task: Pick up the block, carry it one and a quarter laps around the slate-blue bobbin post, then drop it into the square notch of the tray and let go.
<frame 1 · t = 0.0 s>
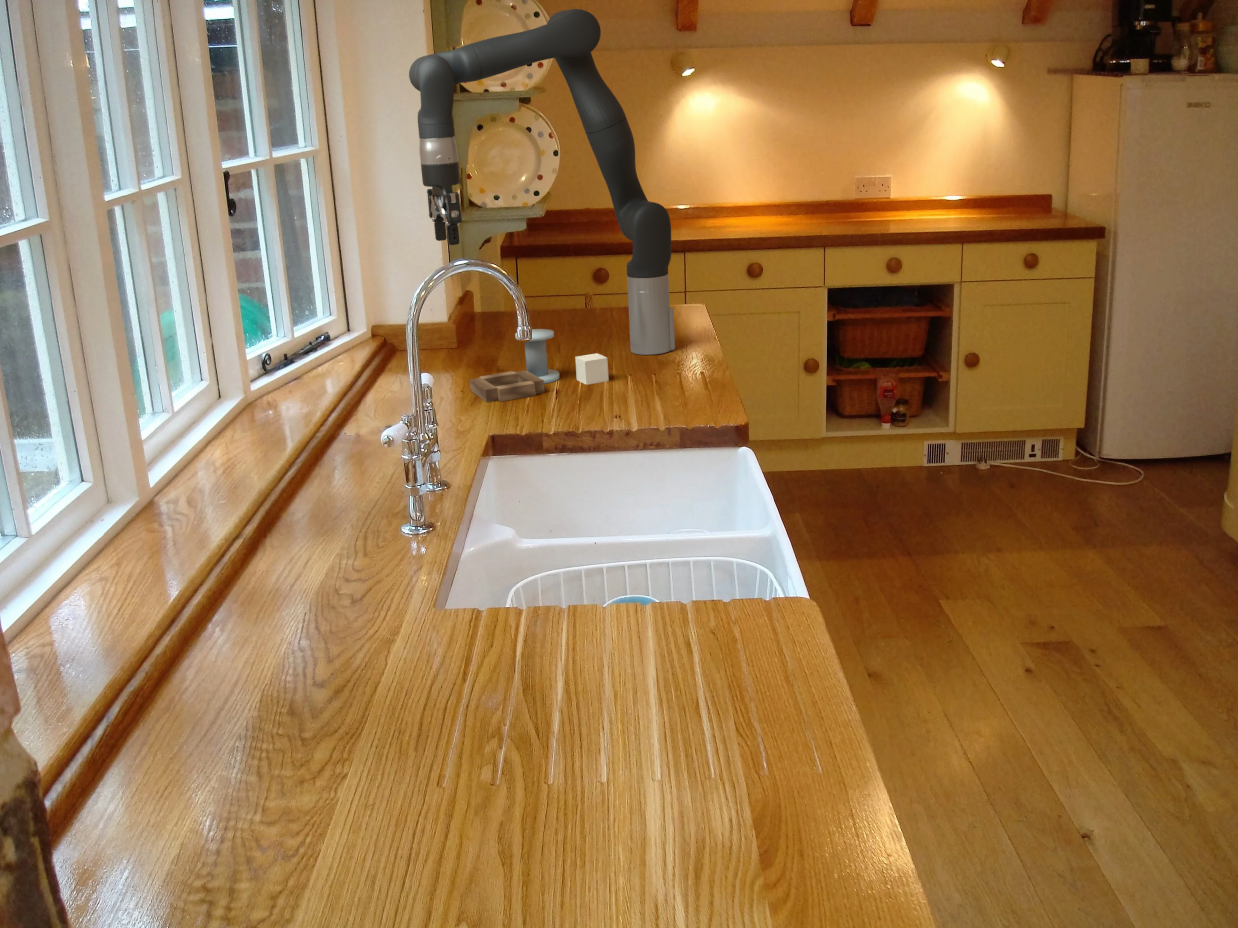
hand: (447, 242, 248), 29 cm above the worktop, fingers open, 8 cm apart
bobbin: (538, 379, 255), on the worktop
tray: (507, 391, 246), on the worktop
block: (592, 380, 251), on the worktop
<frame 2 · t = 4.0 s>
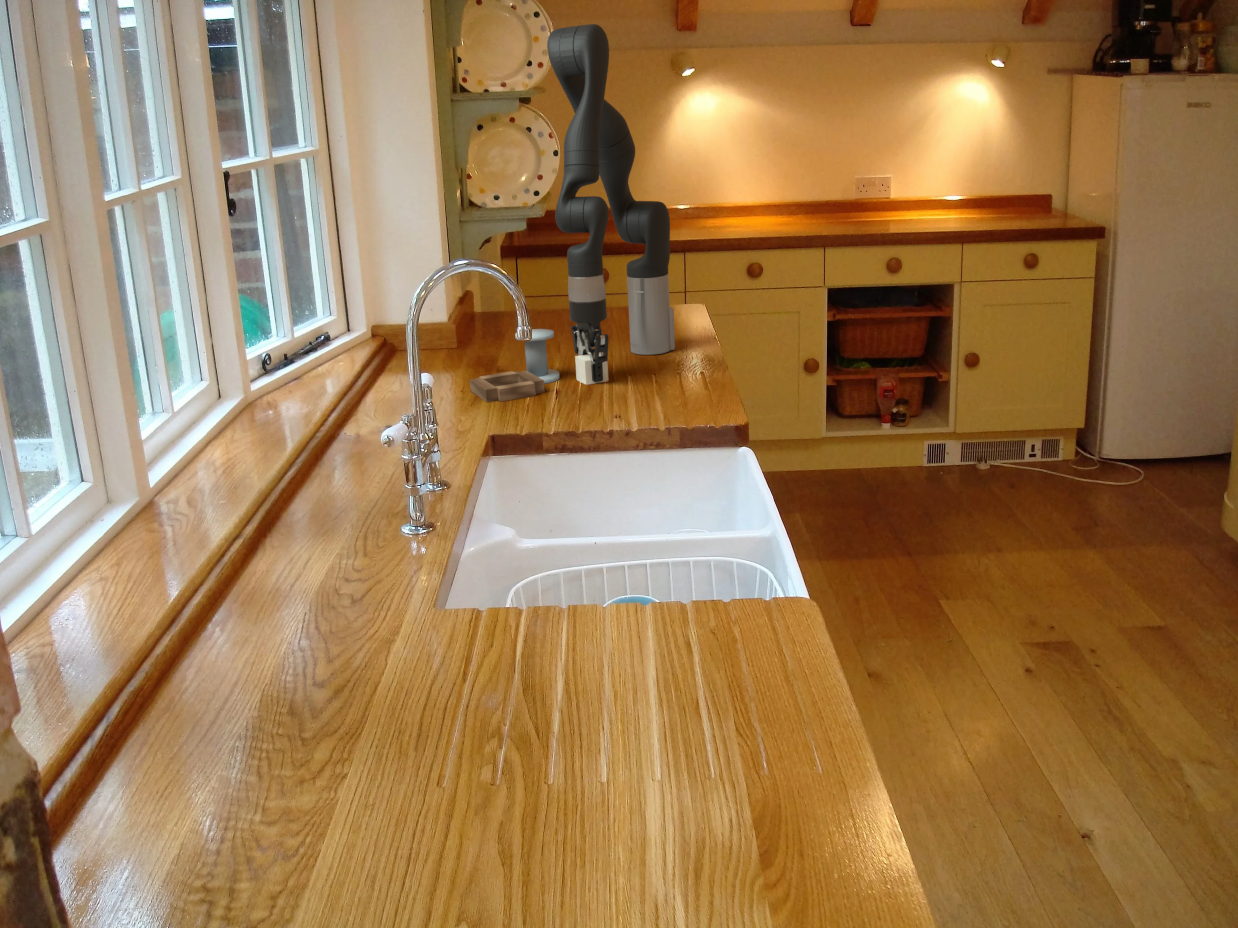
hand: (592, 378, 251), 0 cm above the worktop, fingers closed on block, 5 cm apart
block: (592, 380, 251), on the worktop, touching gripper
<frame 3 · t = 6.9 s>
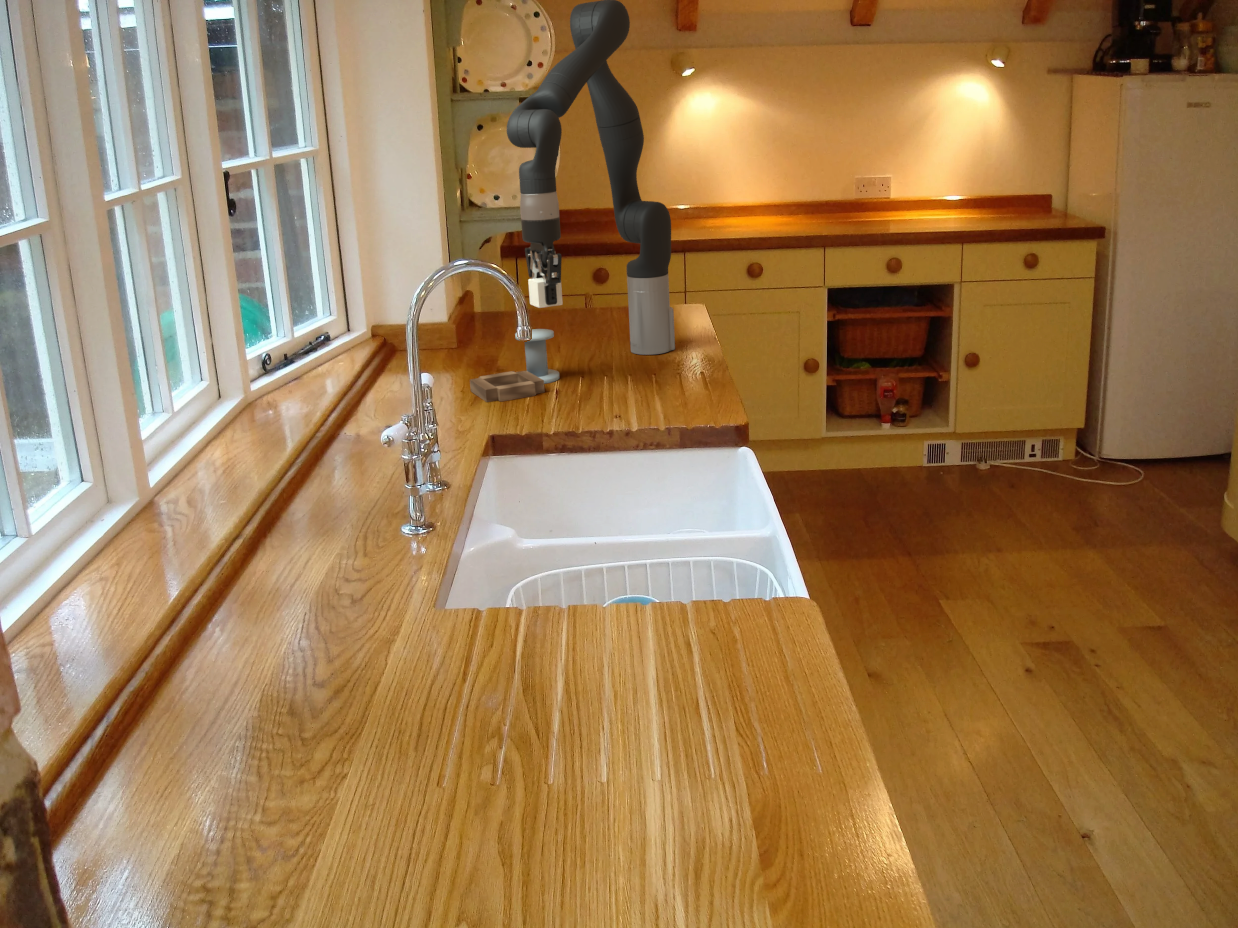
hand: (546, 302, 242), 18 cm above the worktop, fingers closed on block, 5 cm apart
block: (546, 304, 242), point 17 cm above the worktop, touching gripper
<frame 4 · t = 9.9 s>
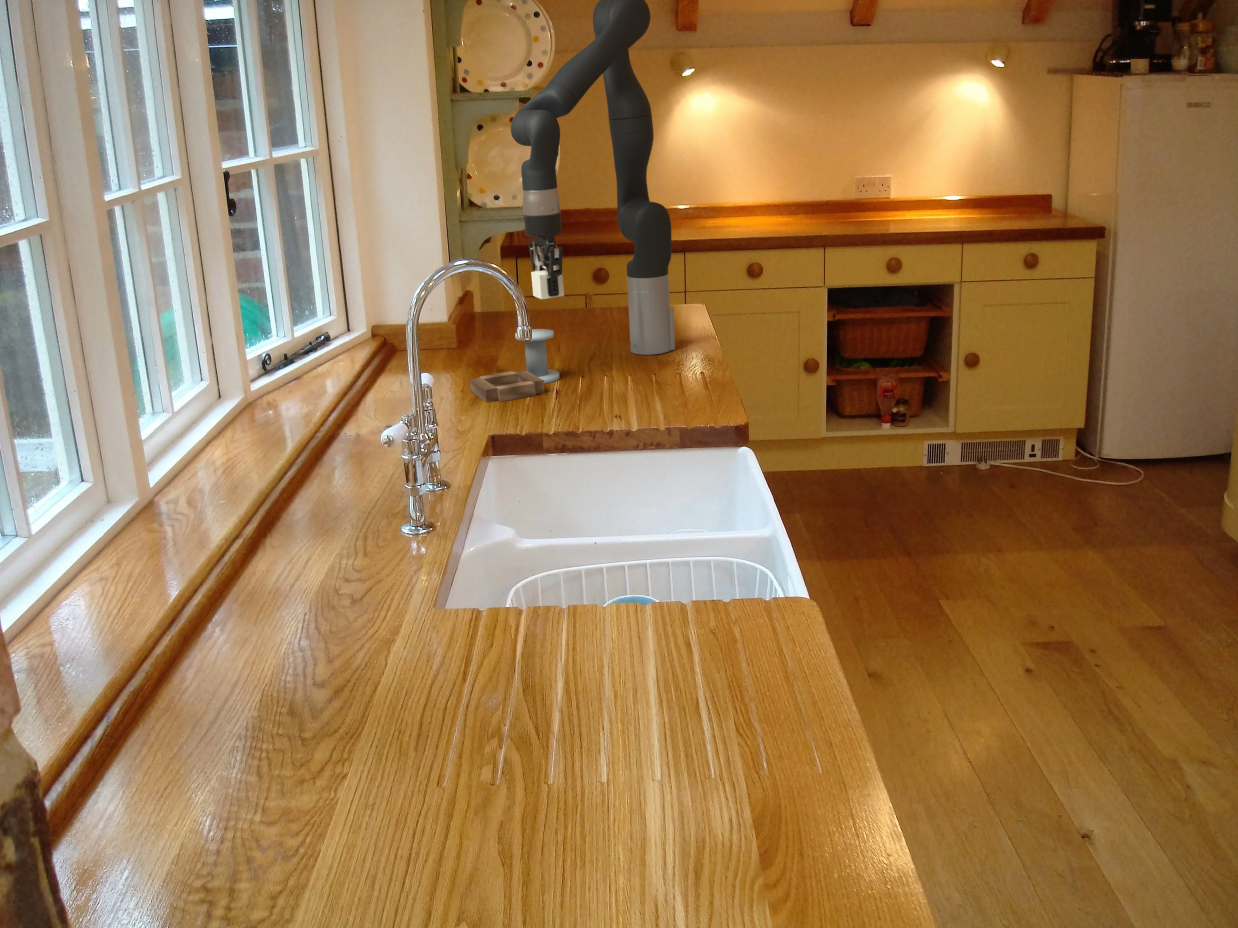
hand: (548, 293, 254), 17 cm above the worktop, fingers closed on block, 5 cm apart
block: (548, 296, 254), point 17 cm above the worktop, touching gripper
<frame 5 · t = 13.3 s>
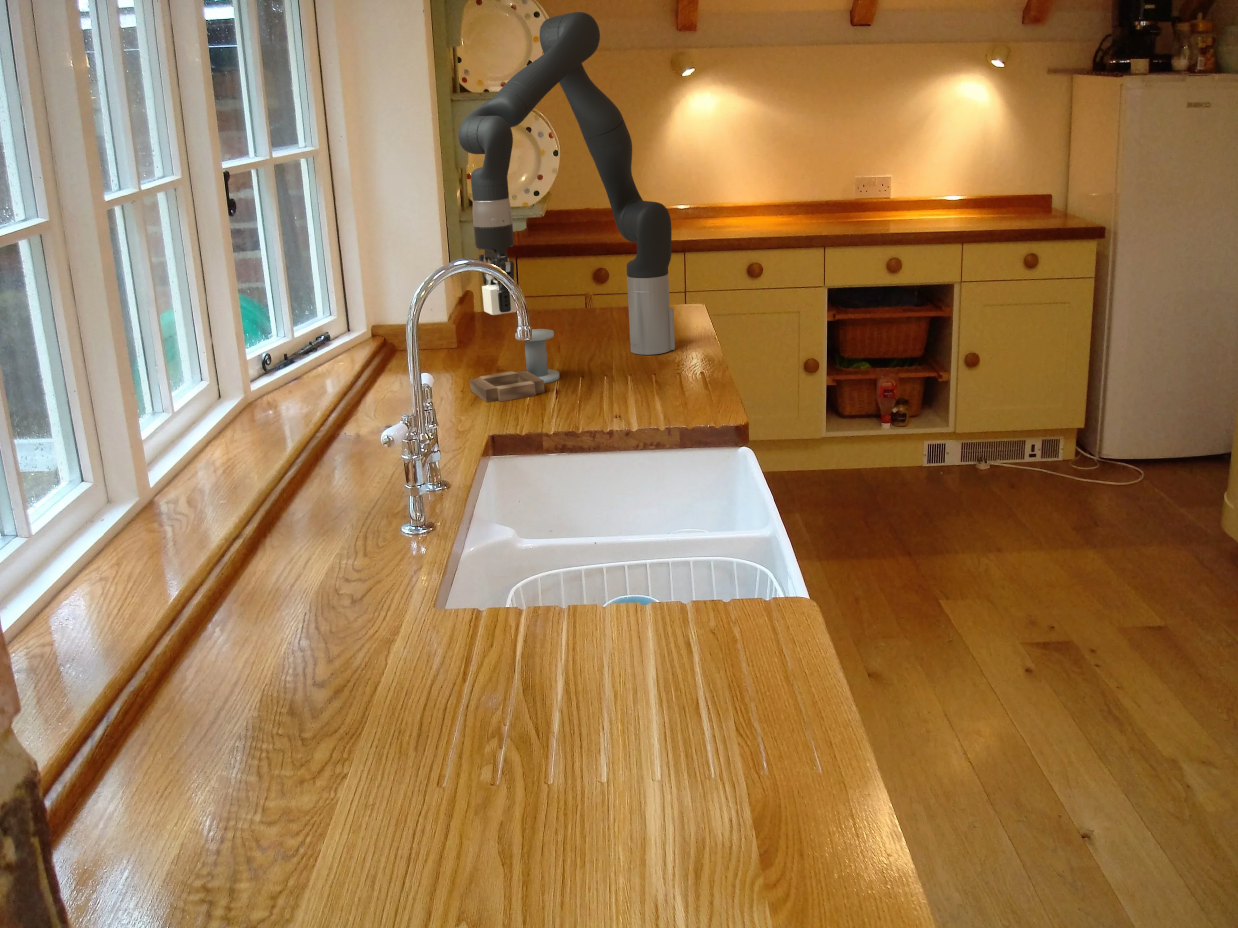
hand: (500, 309, 241), 17 cm above the worktop, fingers closed on block, 5 cm apart
block: (500, 311, 241), point 16 cm above the worktop, touching gripper
when the fingers open (3 cm above the worktop, at t = 16.2 s): block drops 3 cm, resting in tray.
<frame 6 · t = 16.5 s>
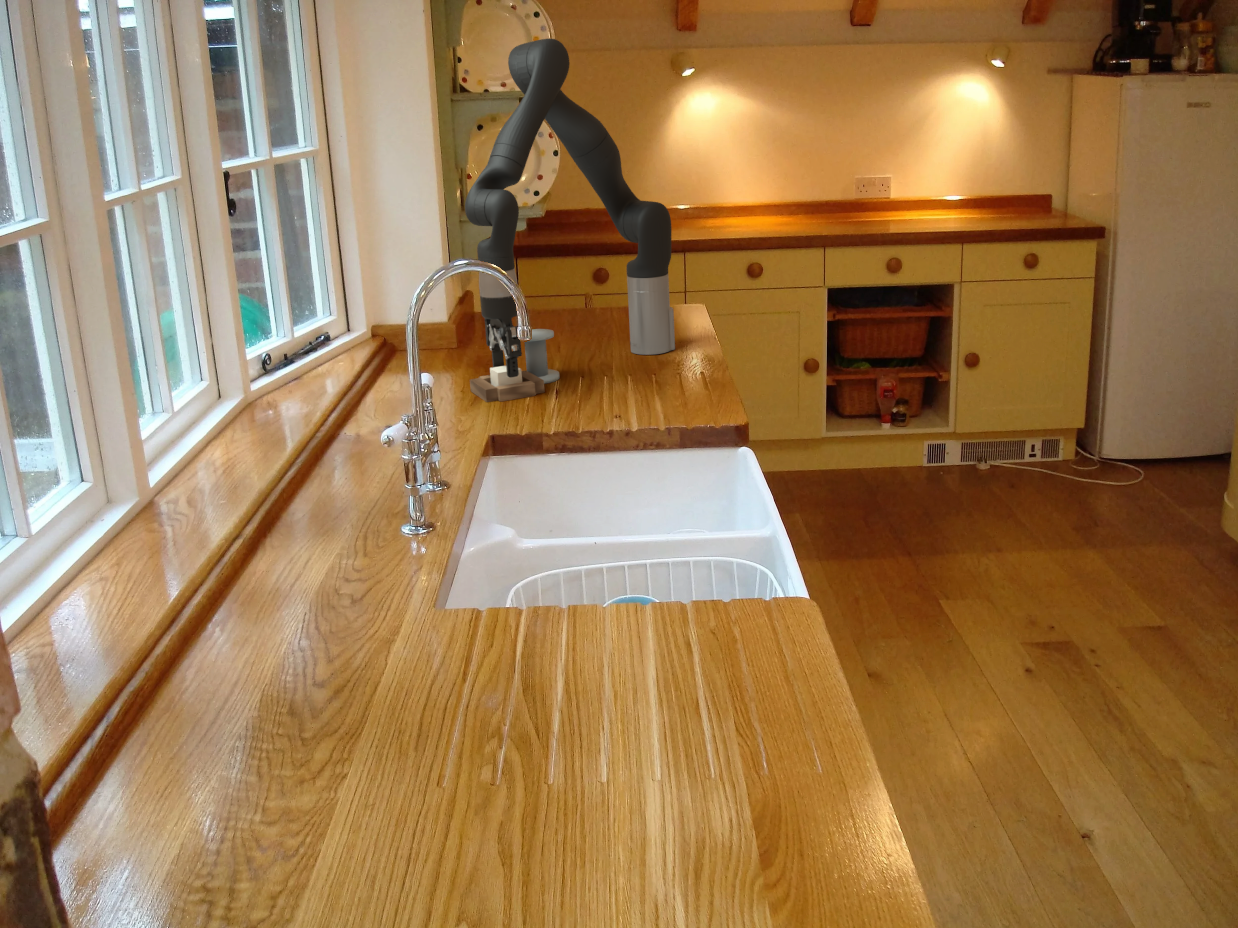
hand: (505, 372, 245), 4 cm above the worktop, fingers open, 8 cm apart
block: (507, 392, 246), resting in tray
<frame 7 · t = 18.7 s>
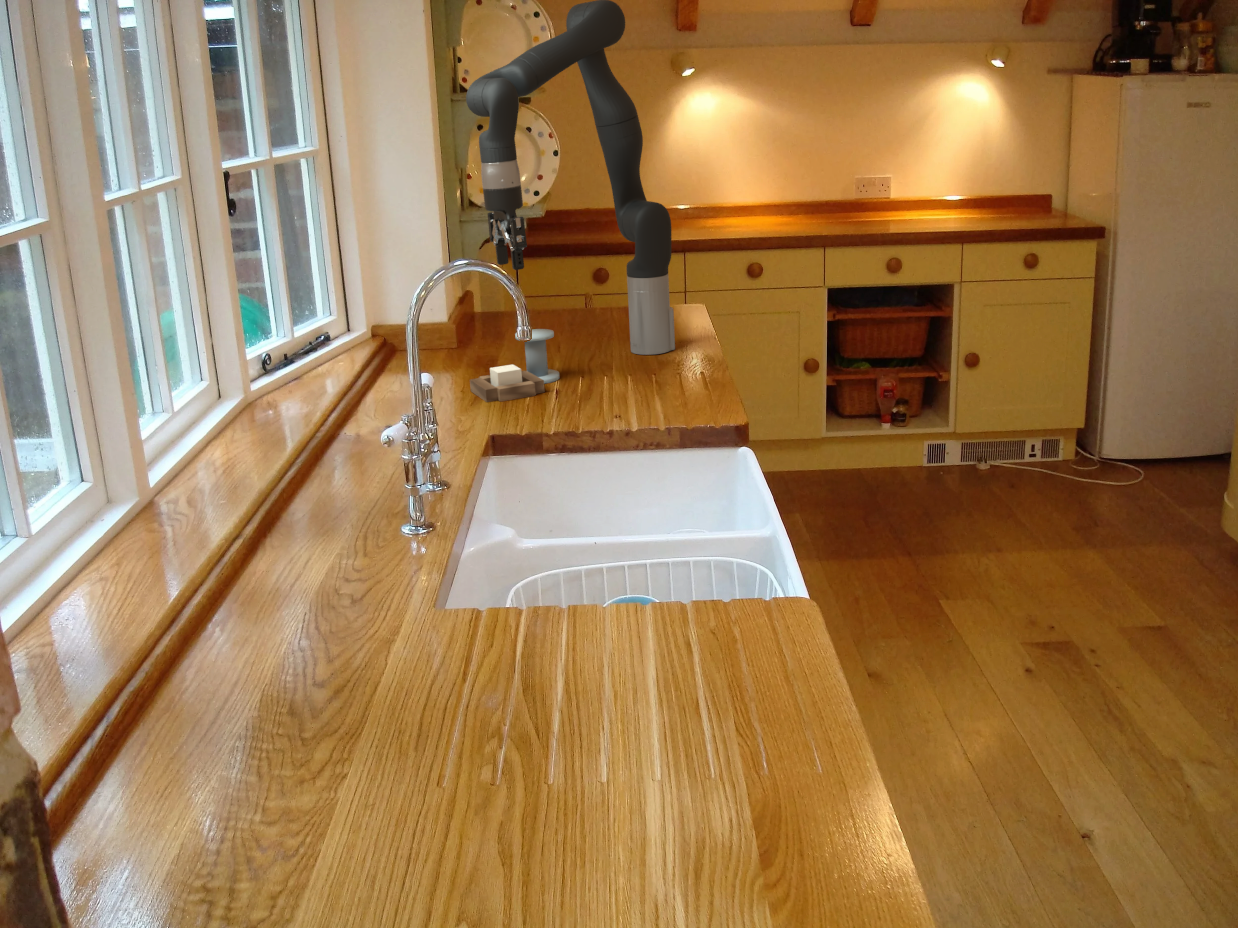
hand: (510, 266, 244), 24 cm above the worktop, fingers open, 8 cm apart
nothing on the worktop moved.
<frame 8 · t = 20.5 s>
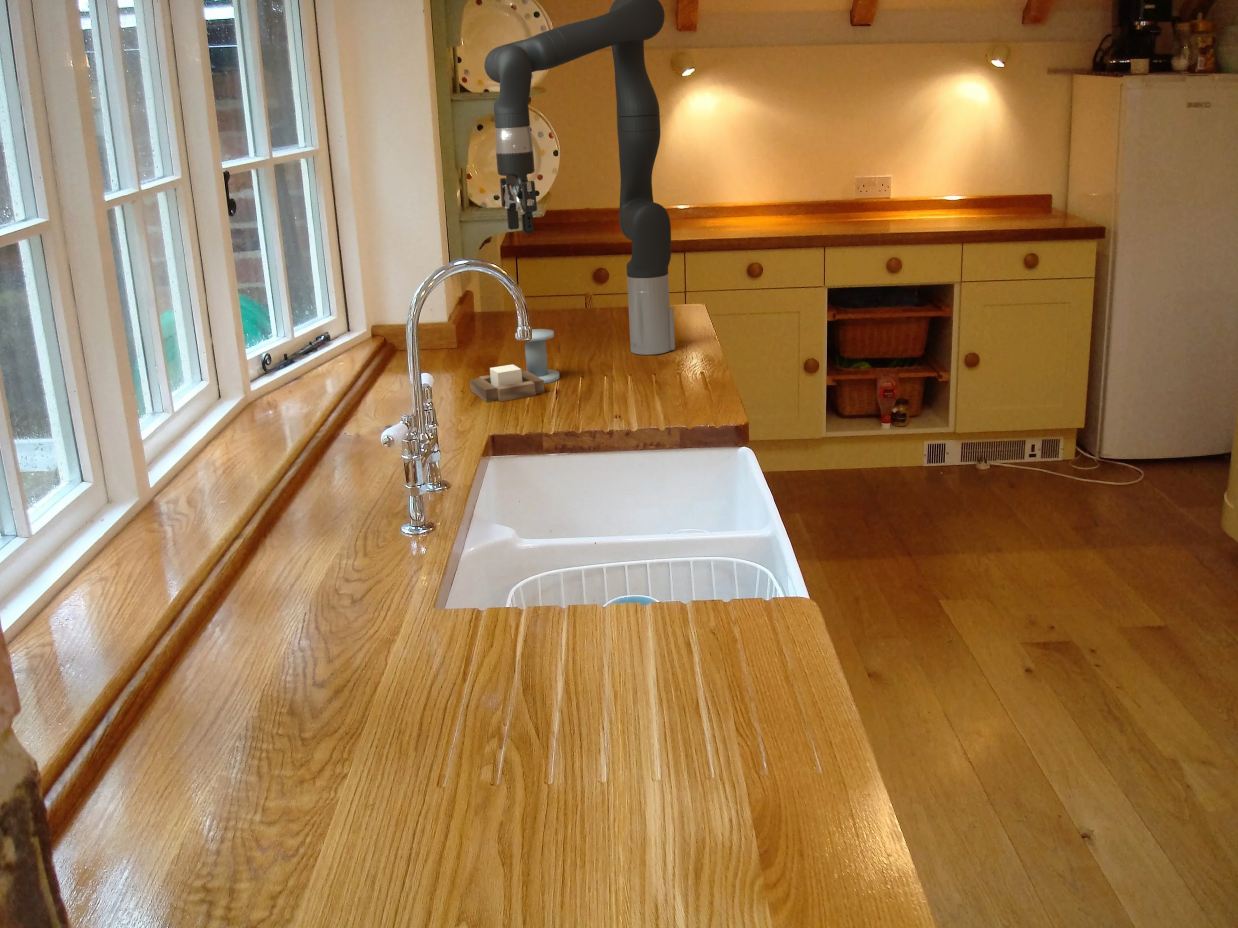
hand: (520, 231, 251), 30 cm above the worktop, fingers open, 8 cm apart
nothing on the worktop moved.
at the end: block inside the target area on the tray (0.1 cm from its centre), point 0.0 cm above the tray's base; block touching worktop; the gripper is holding nothing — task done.
